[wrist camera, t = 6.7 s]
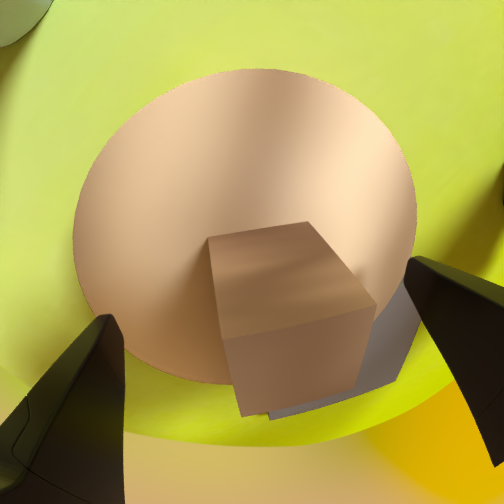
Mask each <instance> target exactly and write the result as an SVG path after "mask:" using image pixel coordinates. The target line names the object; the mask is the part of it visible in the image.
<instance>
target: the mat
mask: <svg viewBox="0 0 504 504" xmlns="http://www.w3.org/2000/svg"><path fill="white" fill-rule="evenodd" d="M404 274H405V273H404ZM403 279H404V276H403V278H402V280H401V282H400V284H399V286H398V288H397V290H396V292H395V293H394V295H393V296H392V298H391V299H390V301H389V302H388V304H387V305H386V307H385V308H384V309H383V311H382V312H381V313H380V314H379V316H378V317H377V318H376V319H375V321H374V322H373V324H372V328H371V332H370V336H369V340H368V343H367V347H366V350H365V354H364V357H363V361H362V364H361V367H360V370H359V374H358V377H357V380H356V383H355V386H354V388H353V389H350V390H347V391H344V392H341V393H338V394H335V395H332V396H329V397H325V398H322V399H318V400H315V401H311V402H308V403H304V404H300V405H296V406H292V407H288V408H284V409H280V410H275V411H271V412H268V416H269V420H275V419H279V418H283V417H287V416H292V415H295V414H299V413H303V412H307V411H310V410H314V409H318V408H321V407H324V406H328V405H331V404H334V403H337V402H340V401H343V400H346V399H349V398H352V397H355V396H358V395H361V394H364V393H366V392H369V391H372V390H374V389H377V388H379V387H382V386H384V385H387V384H389V383H392V382H394V381H396V378H397V376H398V374H399V372H400V370H401V368H402V365H403V363H404V361H405V359H406V356H407V354H408V352H409V349H410V347H411V345H412V342H413V340H414V337H415V335H416V332H417V330H418V327H419V324H420V322H421V318H420V316H419V314H418V312H417V310H416V308H415V306H414V304H413V302H412V300H411V298H410V296H409V294H408V292H407V290H406V288H405V286H404V282H403Z"/></svg>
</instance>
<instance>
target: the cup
mask: <svg viewBox="0 0 504 504" xmlns="http://www.w3.org/2000/svg"><path fill="white" fill-rule="evenodd" d="M52 2H53V0H0V47H4V46H8V45H10V44H12V43H14V42H16V41H17V40H18V39H20V38H21V37H23V36H24V35H25V34H27V33H28V32H29V31H30V30H31V29H32V28H33V27H34V26H35V25H36V24H37V23H38V22H39V20H40V19H41V18H42V17H43V16H44V14H45V13H46V12H47V10H48V8H49V7H50V5H51V3H52Z"/></svg>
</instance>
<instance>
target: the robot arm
mask: <svg viewBox="0 0 504 504" xmlns="http://www.w3.org/2000/svg"><path fill="white" fill-rule="evenodd" d="M503 204H504V202H503ZM403 282H404V286H405V288H406V290H407V292H408V294H409V296H410V298H411V300H412V302H413V304H414V306H415V308H416V310H417V312H418V314H419V316H420V318H421V320H422V322H423V324H424V325H425V327H426V329H427V330H428V332H429V334H430V335H431V337H432V339H433V340H434V342H435V344H436V346H437V347H438V349H439V351H440V353H441V354H442V356H443V358H444V360H445V362H446V363H447V365H448V367H449V369H450V371H451V373H452V375H453V376H454V378H455V380H456V382H457V384H458V386H459V388H460V390H461V392H462V394H463V396H464V398H465V400H466V402H467V404H468V406H469V408H470V411H471V413H472V415H473V417H474V419H475V422H476V424H477V426H478V429H479V431H480V433H481V436H482V438H483V441H484V443H485V445H486V448H487V451H488V453H489V456H490V458H491V461H492V464H493V465H494V467H496V466H498V465H499V464H501V463H502V462H504V287H502V286H499V285H497V284H494V283H492V282H489V281H487V280H484V279H482V278H479V277H477V276H474V275H471V274H469V273H466V272H464V271H461V270H458V269H455V268H453V267H450V266H447V265H445V264H442V263H439V262H436V261H434V260H431V259H428V258H425V257H422V256H415V257H411V258H409V260H408V261H407V265H406V270H405V274H404V279H403ZM124 402H125V362H124V337H123V334H122V332H121V330H120V328H119V326H118V324H117V322H116V320H115V318H114V316H113V315H112V314H102V315H98V316H97V317H96V318H95V319H94V320H93V321H92V322H91V323H90V324H89V325H88V327H87V328H86V329H85V330H84V331H83V332H82V333H81V334H80V335H79V336H78V337H77V338H76V339H75V340H74V341H73V343H72V344H71V345H70V346H69V347H68V348H67V349H66V350H65V351H64V352H63V353H62V355H61V356H60V357H59V358H58V359H57V360H56V361H55V362H54V363H53V365H52V366H51V367H50V368H49V369H48V370H47V371H46V373H45V374H44V375H43V376H42V377H41V378H40V380H39V381H38V382H37V383H36V384H35V385H34V387H33V388H32V389H31V390H30V391H29V393H28V394H27V396H25V397H24V398H23V400H22V401H21V402H20V403H19V405H18V406H17V407H16V408H15V409H14V411H13V412H12V413H11V414H10V415H9V417H8V418H7V419H6V420H5V421H4V422H3V423H2V424H1V426H0V504H125V496H124V474H123V426H124Z"/></svg>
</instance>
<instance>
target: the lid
mask: <svg viewBox="0 0 504 504" xmlns="http://www.w3.org/2000/svg"><path fill="white" fill-rule="evenodd" d="M416 225H417V204H416V196H415V189H414V184H413V180H412V176H411V173H410V170H409V166H408V164H407V162H406V159H405V157H404V155H403V153H402V151H401V149H400V147H399V145H398V144H397V142H396V140H395V139H394V137H393V136H392V134H391V133H390V131H389V130H388V129H387V127H386V126H385V125H384V124H383V123H382V122H381V121H380V120H379V118H378V117H377V116H376V115H375V114H374V113H373V112H372V111H371V110H369V109H368V108H367V107H366V106H365V105H363V104H362V103H361V102H360V101H358V100H357V99H356V98H354V97H353V96H351V95H350V94H348V93H346V92H344V91H343V90H341V89H339V88H337V87H335V86H333V85H332V84H329V83H327V82H324V81H321V80H319V79H316V78H313V77H310V76H307V75H304V74H299V73H294V72H288V71H282V70H276V69H241V70H234V71H227V72H221V73H215V74H212V75H208V76H205V77H202V78H199V79H196V80H193V81H190V82H187V83H184V84H182V85H180V86H178V87H176V88H174V89H172V90H170V91H168V92H166V93H165V94H163V95H161V96H159V97H157V98H155V99H154V100H153V101H151V102H150V103H148V104H147V105H146V106H144V107H143V108H142V109H140V110H139V111H138V112H137V113H135V114H134V115H133V116H131V117H130V118H129V119H128V120H127V121H126V122H125V123H124V124H123V125H122V126H121V127H120V128H119V130H118V131H117V132H116V133H115V134H114V135H113V136H112V137H111V138H110V139H109V141H108V142H107V143H106V145H105V146H104V148H103V149H102V151H101V152H100V154H99V155H98V157H97V158H96V160H95V161H94V163H93V165H92V167H91V169H90V171H89V173H88V176H87V178H86V180H85V182H84V184H83V187H82V189H81V193H80V197H79V200H78V204H77V208H76V212H75V219H74V228H73V252H74V262H75V267H76V271H77V276H78V280H79V283H80V286H81V288H82V291H83V293H84V296H85V298H86V301H87V303H88V304H89V306H90V308H91V310H92V311H93V313H94V315H95V317H97V316H98V315H102V314H112V315H113V316H114V318H115V320H116V322H117V324H118V326H119V328H120V330H121V332H122V334H123V337H124V349H126V350H127V351H128V352H130V353H131V354H132V355H134V356H135V357H136V358H138V359H140V360H141V361H143V362H145V363H147V364H148V365H150V366H152V367H154V368H156V369H158V370H161V371H163V372H165V373H168V374H171V375H174V376H177V377H180V378H183V379H187V380H192V381H197V382H201V383H210V384H223V385H233V387H234V391H235V395H236V399H237V403H238V406H239V410H240V414H241V417H246V416H251V415H256V414H261V413H266V412H271V411H275V410H280V409H284V408H288V407H292V406H296V405H300V404H304V403H308V402H311V401H315V400H318V399H322V398H325V397H329V396H332V395H335V394H338V393H341V392H344V391H347V390H350V389H353V388H354V386H355V383H356V380H357V377H358V374H359V370H360V367H361V364H362V361H363V357H364V354H365V350H366V347H367V343H368V340H369V336H370V332H371V328H372V324H373V322H374V321H375V319H376V318H377V317H378V316H379V314H380V313H381V312H382V311H383V309H384V308H385V307H386V305H387V304H388V302H389V301H390V299H391V298H392V296H393V295H394V293H395V292H396V290H397V288H398V286H399V284H400V282H401V280H402V278H403V276H404V273H405V270H406V265H407V261H408V260H409V258H410V257H411V253H412V249H413V245H414V240H415V233H416Z"/></svg>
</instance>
